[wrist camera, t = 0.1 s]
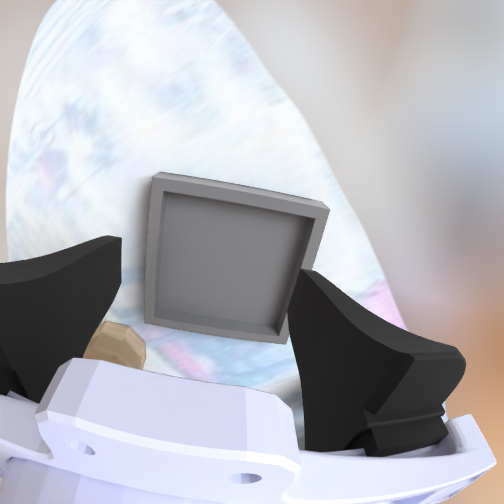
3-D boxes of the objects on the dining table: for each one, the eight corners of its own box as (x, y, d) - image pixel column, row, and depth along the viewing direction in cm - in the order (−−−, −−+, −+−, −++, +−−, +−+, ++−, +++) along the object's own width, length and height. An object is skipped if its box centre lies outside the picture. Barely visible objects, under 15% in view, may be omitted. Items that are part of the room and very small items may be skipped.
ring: (146, 368, 27) (137, 397, 23) (98, 356, 26) (85, 383, 23) (145, 329, 25) (133, 359, 21) (92, 317, 24) (75, 344, 20)
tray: (282, 329, 25) (285, 344, 23) (150, 308, 24) (144, 322, 22) (322, 201, 21) (330, 209, 19) (160, 171, 19) (152, 176, 17)
